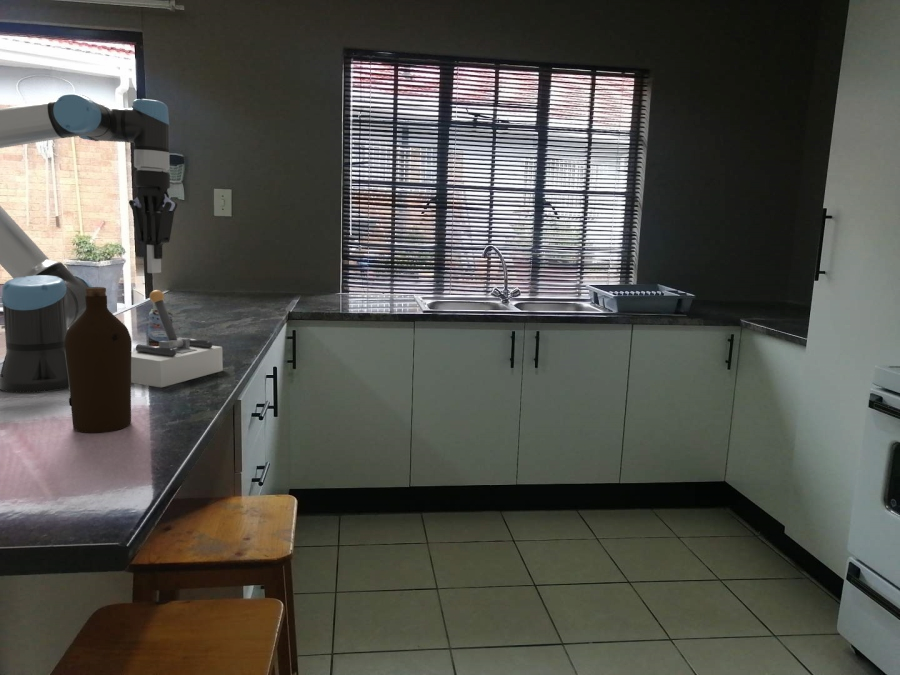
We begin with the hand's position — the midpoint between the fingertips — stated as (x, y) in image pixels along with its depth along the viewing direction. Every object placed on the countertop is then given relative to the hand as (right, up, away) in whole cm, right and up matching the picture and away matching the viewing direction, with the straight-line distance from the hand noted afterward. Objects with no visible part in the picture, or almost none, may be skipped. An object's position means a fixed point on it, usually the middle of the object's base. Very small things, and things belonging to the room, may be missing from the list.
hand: (154, 272), depth 161 cm
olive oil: (+7, -31, -38) cm, 50 cm away
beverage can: (-11, -19, +29) cm, 36 cm away
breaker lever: (+4, -17, +1) cm, 18 cm away
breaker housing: (+4, -24, +2) cm, 25 cm away
